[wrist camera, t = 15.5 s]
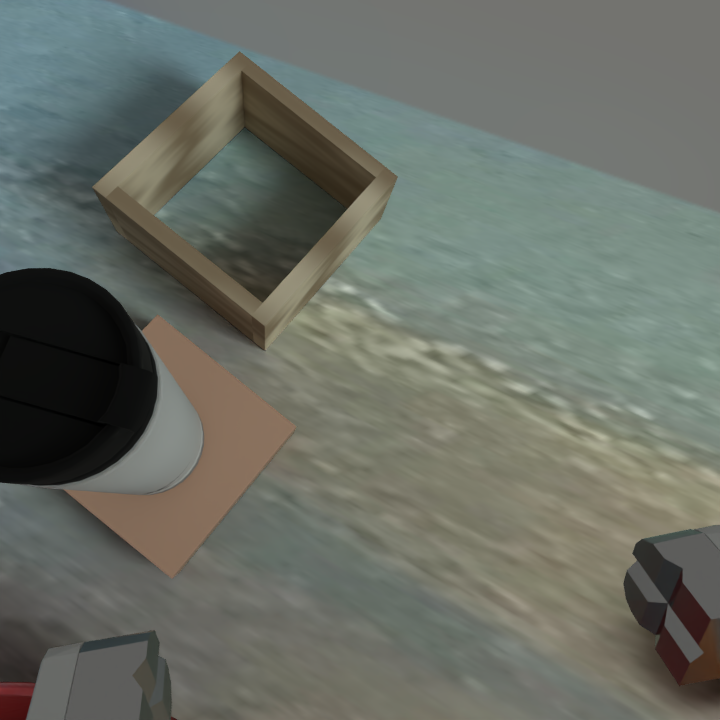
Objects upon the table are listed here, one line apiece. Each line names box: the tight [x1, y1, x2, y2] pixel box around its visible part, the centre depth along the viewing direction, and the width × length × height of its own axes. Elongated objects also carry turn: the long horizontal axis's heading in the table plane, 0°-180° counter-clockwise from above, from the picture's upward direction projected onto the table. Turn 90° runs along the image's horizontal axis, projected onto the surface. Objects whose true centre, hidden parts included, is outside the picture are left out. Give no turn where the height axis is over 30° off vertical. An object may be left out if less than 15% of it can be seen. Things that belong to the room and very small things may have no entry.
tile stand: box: [63, 315, 296, 578], centre depth 37 cm, size 11×11×3 cm
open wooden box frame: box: [92, 52, 397, 350], centre depth 40 cm, size 13×13×6 cm
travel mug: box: [0, 268, 204, 495], centre depth 26 cm, size 6×7×20 cm
